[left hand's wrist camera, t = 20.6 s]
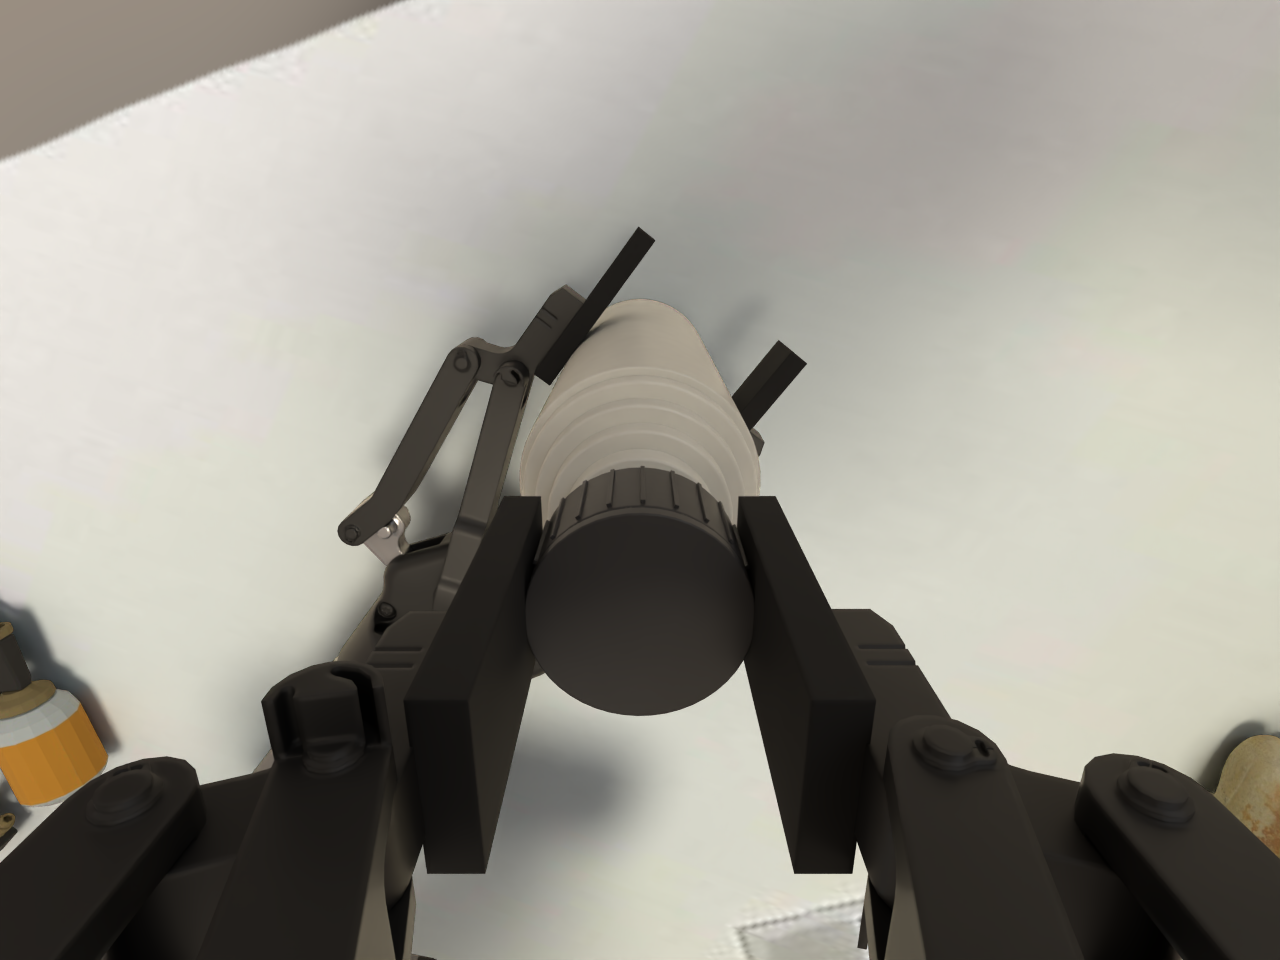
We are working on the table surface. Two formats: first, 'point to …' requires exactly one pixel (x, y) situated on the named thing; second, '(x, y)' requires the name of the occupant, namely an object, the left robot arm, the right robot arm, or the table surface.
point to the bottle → (640, 412)
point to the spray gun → (41, 737)
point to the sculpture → (1254, 787)
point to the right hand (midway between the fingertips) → (720, 294)
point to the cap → (639, 594)
